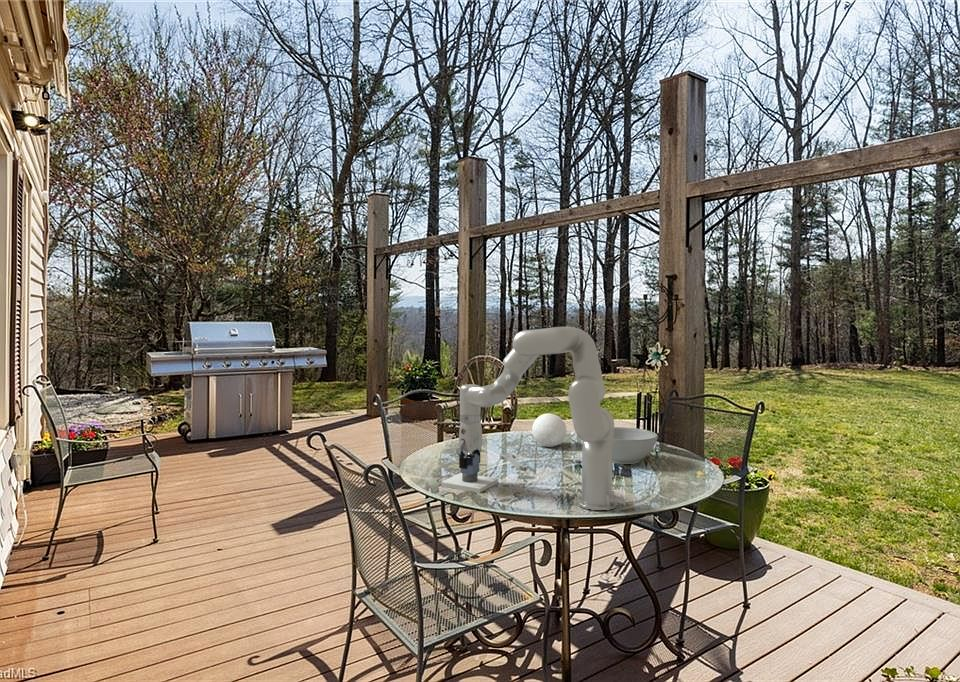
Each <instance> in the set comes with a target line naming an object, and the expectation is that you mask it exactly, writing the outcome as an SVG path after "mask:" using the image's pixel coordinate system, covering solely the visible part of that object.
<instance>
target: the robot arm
mask: <svg viewBox="0 0 960 682" xmlns="http://www.w3.org/2000/svg"><path fill="white" fill-rule="evenodd" d="M596 346H597V345H596V344H595V340H594V339H593V338H592V336H591V335H590V334H589V333H587V332H586V331H585V330H583V329H581V328H578V327H574V326H554V327H548V328H547V327H546V328H535V329H525V330H521V331H519V332H517V333H516V335H515V336H514V337H513V340H512V347H513V348H512V349H511V350H510V351H509V353H507V355H506V356H505V357H504V359H503V361H502V364H503V371H502V372H501V374H500V375H499V377H497V379H496V380H495V381H494V382H493V383H491V384H487V385H483V386H481V385H478V384H475V383H474V384H472V383H469V384H462V385H461V386H460V387H459V423H460V424H459V430H458V431H459V432H458V444H457V446H456V451H457V455H458V456H457V457H458V468H459V469H461V468H462V469H467V468H468V458H466V457H467V454H468V453H469V452H470V453H471V454H477V455H479V464H480V463H481V452H482V447H483V441H484V439H483V429H482V421H481V409H482V408H489V407H493V406H497V405H500V404H501V403H504V401H506V400H507V398H509V396H510V395H511V394H512V393H513V392H514V390H515V389H516V388H517V386H518V384H519V383H520V381H521V379H522V377H523V375H524V374H525V372H526V371H528V369H529V368H530V366H532V365H533V363H534V362H535V361H536V360H537V359H538V357H539V356H543V355H544V356H545V355H556V354H557V355H558V354H563V353H565V354H566V353H571V355H572V367H573V370H574V371H573V372H574V375H575V377H574V378H575V380H573V381H572V382H571V384H570V385H569V388H568V395H567V397H568V403H569V408H570V415H571V419H572V424H573V428H574V431H575V434H576V435H577V437H578V438H579V439H580V440H581V441H582V449H581V450H582V451H581V452H582V453H581V454H582V455H581V459H582V460H581V463H582V464H581V496H580V497H577V499H576V505H577V506H578V507H580V508H582V509H585V510H588V509H591V510H590V511H594V510H607V511H611V510H610V509H612V510H614V509H616V507H617V505H623V506H624V505H625V503H626V499H625V498H624V497H623V496H619V495H616V494H615V490H613V486H612V485H613V462H612V447H613V435H614V427H615V421H614V420H615V419H614V417H613V415H612V414H611V412H610V411H609V410H607V409H605V408H604V407H601V401H602V400H603V399H604V398H605V395H606V387H605V383H604V378H603V373H602V369H601V368H602V367H601V363H600V360H599V355H598V349H597V347H596ZM464 452H465V454H464Z"/></svg>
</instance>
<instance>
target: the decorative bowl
mask: <svg viewBox="0 0 960 682" xmlns="http://www.w3.org/2000/svg"><path fill="white" fill-rule="evenodd" d="M658 438H659V436H658V434H657V433H656V432H654V431H651V430H648V429H644V428H643V429H642V428H636V427H626V426H625V427H623V426H621V427H620V426H614V435H613V447H612V464H618V465H624V464H633V465H636V464H635V463H638V462H639V463H640V461H641V460H643V459H644V458H646V457H648V455H650V454H651V452H652V451H653V450H654V449H655V446H656V444H657V441H658ZM639 463H638V464H639Z"/></svg>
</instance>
